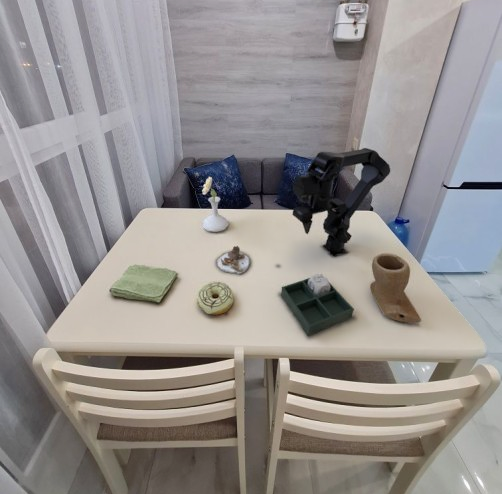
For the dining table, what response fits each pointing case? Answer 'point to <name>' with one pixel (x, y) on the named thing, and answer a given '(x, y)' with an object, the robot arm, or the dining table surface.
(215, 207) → the flower in vase
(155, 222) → the dining table surface
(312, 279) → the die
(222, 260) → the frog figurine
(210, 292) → the decorated donut
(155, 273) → the washcloth
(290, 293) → the grid
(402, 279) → the clay platform pipe
